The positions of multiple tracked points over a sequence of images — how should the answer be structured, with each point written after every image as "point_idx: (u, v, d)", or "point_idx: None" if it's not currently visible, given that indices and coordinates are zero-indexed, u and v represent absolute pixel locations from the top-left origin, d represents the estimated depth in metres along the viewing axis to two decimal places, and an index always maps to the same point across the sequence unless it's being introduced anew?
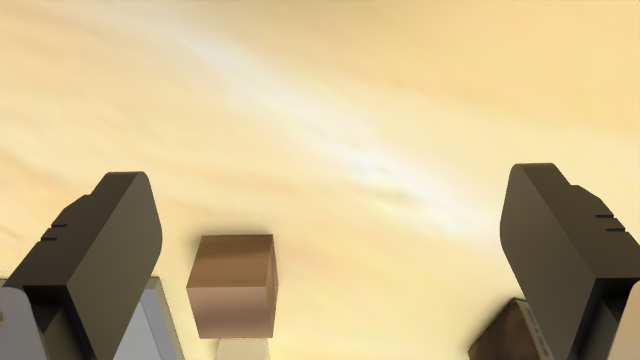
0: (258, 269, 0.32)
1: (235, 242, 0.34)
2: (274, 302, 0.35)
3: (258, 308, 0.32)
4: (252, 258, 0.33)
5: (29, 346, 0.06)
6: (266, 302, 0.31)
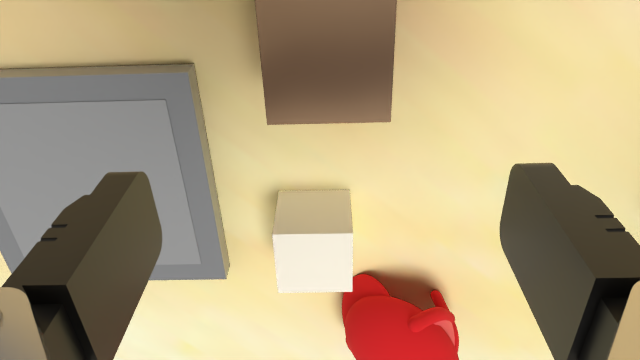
0: None
1: None
2: None
3: (377, 49, 0.18)
4: None
5: (29, 346, 0.06)
6: (392, 33, 0.18)
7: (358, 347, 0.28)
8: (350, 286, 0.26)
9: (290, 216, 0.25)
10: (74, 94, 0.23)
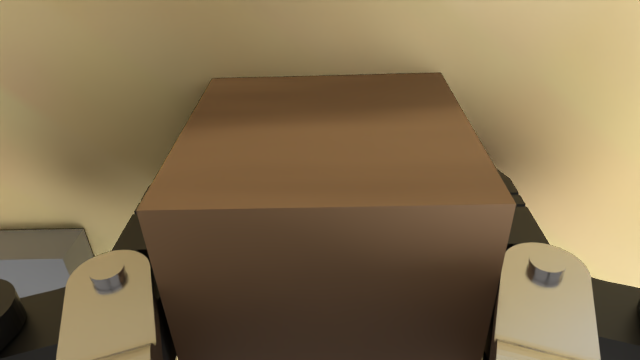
0: (445, 150, 0.08)
1: (324, 89, 0.10)
2: None
3: (450, 314, 0.07)
4: (402, 121, 0.09)
5: (143, 312, 0.07)
6: (492, 286, 0.07)
7: None
8: None
9: None
10: None
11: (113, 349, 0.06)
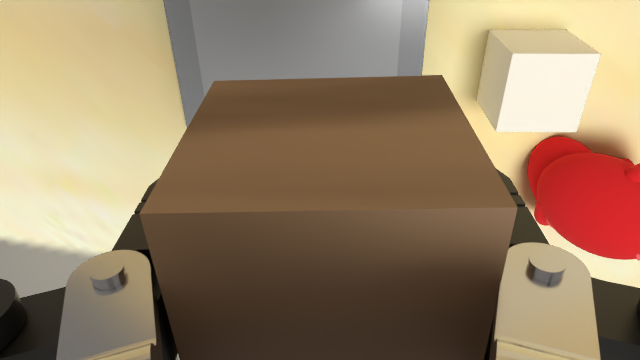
0: (447, 153, 0.08)
1: (325, 92, 0.10)
2: None
3: (452, 315, 0.07)
4: (404, 124, 0.09)
5: (143, 312, 0.07)
6: (494, 288, 0.07)
7: (563, 204, 0.27)
8: (576, 125, 0.24)
9: (520, 43, 0.23)
10: None
11: (113, 349, 0.06)
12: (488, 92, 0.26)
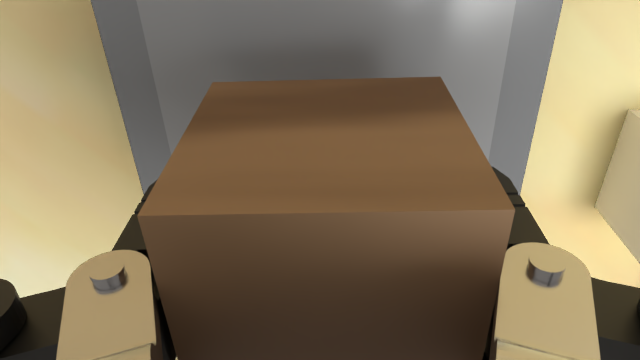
0: (445, 153, 0.08)
1: (324, 93, 0.10)
2: None
3: (450, 317, 0.07)
4: (402, 126, 0.09)
5: (143, 312, 0.07)
6: (491, 290, 0.07)
7: None
8: None
9: None
10: None
11: (113, 349, 0.06)
12: (630, 209, 0.16)
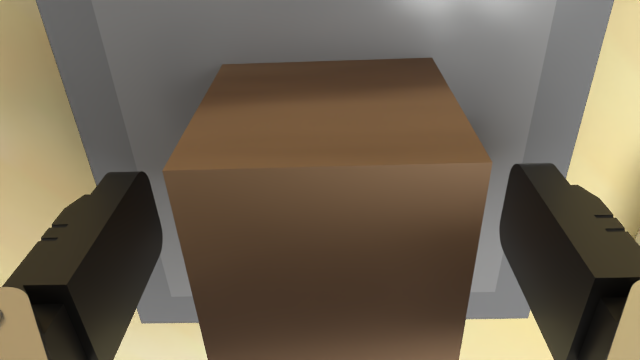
0: (433, 120, 0.09)
1: (325, 72, 0.11)
2: None
3: (438, 265, 0.08)
4: (395, 98, 0.10)
5: (30, 346, 0.06)
6: (474, 238, 0.08)
7: None
8: None
9: None
10: None
11: None
12: None
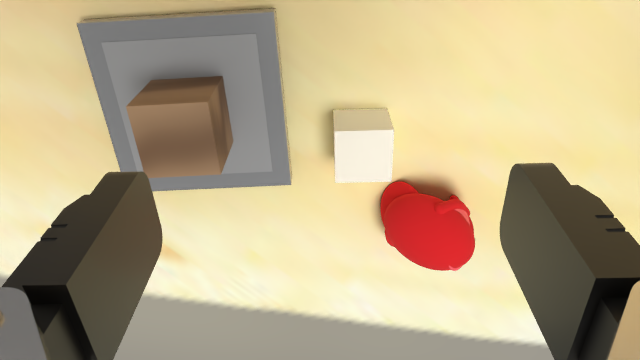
0: (203, 93, 0.31)
1: (183, 81, 0.33)
2: (225, 146, 0.33)
3: (203, 133, 0.30)
4: (198, 88, 0.32)
5: (29, 346, 0.06)
6: (210, 124, 0.30)
7: (396, 231, 0.37)
8: (390, 176, 0.34)
9: (345, 122, 0.34)
10: (190, 31, 0.32)
11: None
12: (334, 154, 0.36)
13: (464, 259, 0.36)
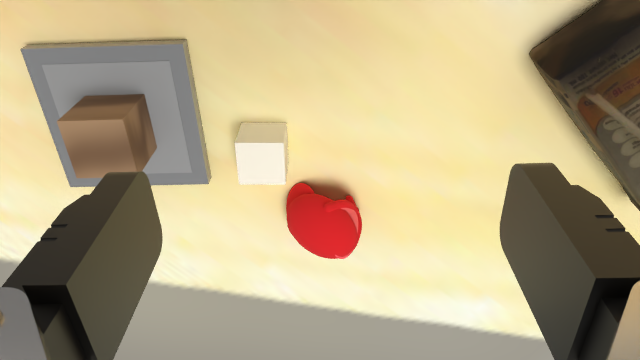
0: (122, 111, 0.37)
1: (110, 98, 0.40)
2: (145, 153, 0.40)
3: (121, 143, 0.37)
4: (120, 106, 0.38)
5: (29, 346, 0.06)
6: (126, 137, 0.37)
7: (293, 225, 0.44)
8: (284, 180, 0.42)
9: (247, 134, 0.41)
10: (115, 57, 0.39)
11: None
12: None
13: (347, 249, 0.43)
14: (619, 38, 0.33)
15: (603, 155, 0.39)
